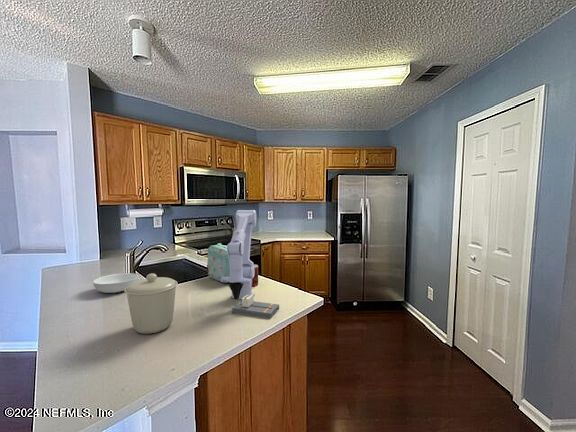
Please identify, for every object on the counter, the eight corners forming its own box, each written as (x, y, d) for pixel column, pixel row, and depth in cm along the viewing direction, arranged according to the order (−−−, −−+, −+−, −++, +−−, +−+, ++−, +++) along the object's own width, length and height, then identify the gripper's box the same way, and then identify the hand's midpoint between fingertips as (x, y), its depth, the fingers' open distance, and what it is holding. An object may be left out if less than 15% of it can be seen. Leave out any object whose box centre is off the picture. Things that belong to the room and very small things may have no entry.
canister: (143, 317, 114) (141, 267, 113) (186, 317, 114) (184, 267, 112) (115, 339, 96) (112, 281, 95) (165, 339, 96) (163, 281, 94)
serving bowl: (141, 291, 146) (140, 279, 145) (93, 300, 134) (92, 286, 134) (136, 282, 163) (136, 270, 163) (94, 288, 151) (93, 276, 151)
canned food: (256, 287, 151) (255, 267, 151) (242, 286, 153) (242, 267, 152) (260, 283, 159) (259, 264, 158) (247, 282, 160) (246, 263, 160)
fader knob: (242, 306, 119) (241, 297, 119) (247, 302, 124) (247, 293, 124) (248, 307, 118) (248, 298, 118) (253, 302, 123) (253, 294, 123)
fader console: (232, 312, 118) (232, 308, 118) (243, 304, 127) (243, 299, 127) (270, 318, 112) (270, 313, 112) (279, 308, 122) (279, 304, 122)
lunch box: (204, 276, 173) (203, 243, 172) (219, 273, 180) (218, 241, 179) (226, 286, 154) (225, 248, 152) (241, 282, 161) (241, 246, 159)
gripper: (216, 269, 120) (217, 299, 121) (246, 272, 116) (247, 303, 116) (225, 265, 127) (226, 294, 128) (253, 268, 122) (254, 297, 123)
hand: (236, 298), depth 123 cm, fingers closed
